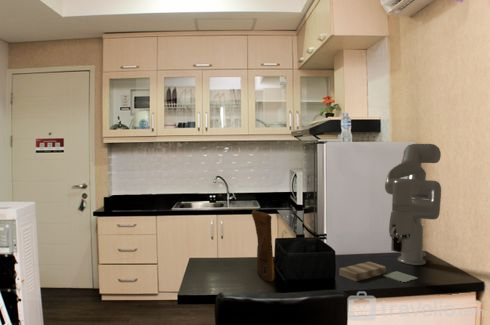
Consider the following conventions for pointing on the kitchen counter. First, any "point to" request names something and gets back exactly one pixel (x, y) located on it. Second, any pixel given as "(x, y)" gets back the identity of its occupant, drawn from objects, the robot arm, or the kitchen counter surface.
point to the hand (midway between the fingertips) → (400, 249)
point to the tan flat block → (362, 271)
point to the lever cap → (403, 245)
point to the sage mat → (400, 276)
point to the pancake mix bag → (264, 245)
